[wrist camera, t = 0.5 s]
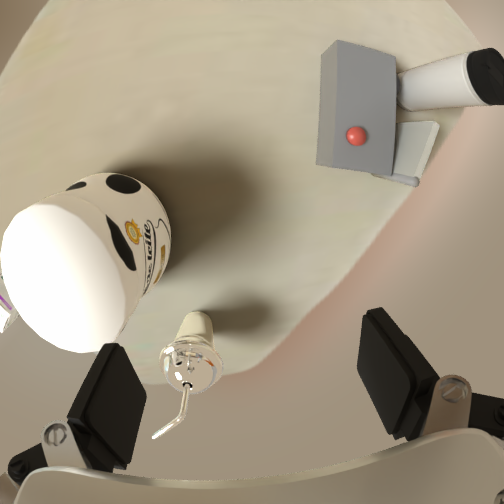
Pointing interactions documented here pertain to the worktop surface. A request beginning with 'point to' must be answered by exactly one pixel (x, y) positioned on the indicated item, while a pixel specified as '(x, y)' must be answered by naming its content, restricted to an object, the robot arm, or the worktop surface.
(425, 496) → the robot arm
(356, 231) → the worktop surface
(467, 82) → the travel mug
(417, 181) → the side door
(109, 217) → the milk container
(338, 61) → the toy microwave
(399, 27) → the worktop surface
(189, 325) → the cup with straw
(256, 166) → the worktop surface
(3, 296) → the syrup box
